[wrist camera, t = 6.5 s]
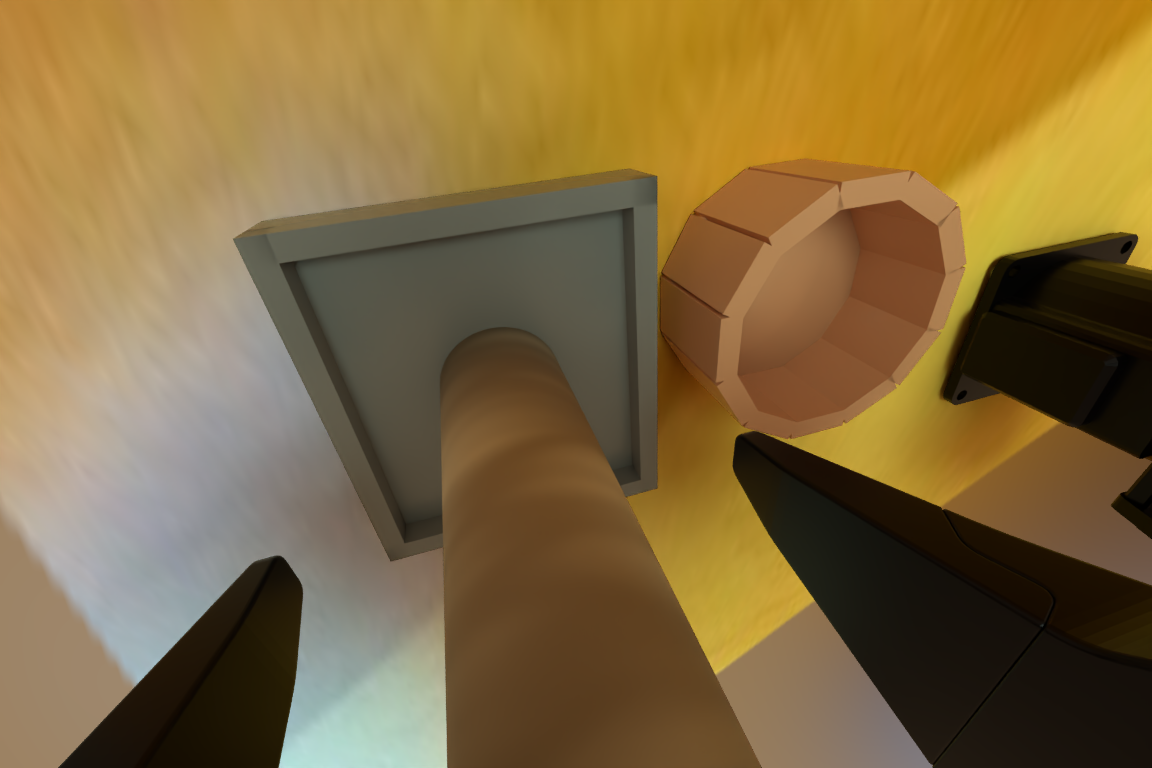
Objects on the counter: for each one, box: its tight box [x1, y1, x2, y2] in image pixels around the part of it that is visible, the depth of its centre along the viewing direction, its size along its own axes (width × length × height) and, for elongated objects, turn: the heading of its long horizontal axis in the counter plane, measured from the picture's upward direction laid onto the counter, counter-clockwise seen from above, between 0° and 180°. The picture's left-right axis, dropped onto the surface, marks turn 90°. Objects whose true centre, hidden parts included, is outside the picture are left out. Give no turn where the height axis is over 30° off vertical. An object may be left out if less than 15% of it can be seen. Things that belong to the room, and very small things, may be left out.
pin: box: [440, 327, 762, 768], centre depth 9 cm, size 3×3×10 cm
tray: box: [233, 169, 657, 561], centre depth 13 cm, size 9×10×2 cm
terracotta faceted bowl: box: [661, 159, 966, 439], centre depth 13 cm, size 7×7×4 cm
